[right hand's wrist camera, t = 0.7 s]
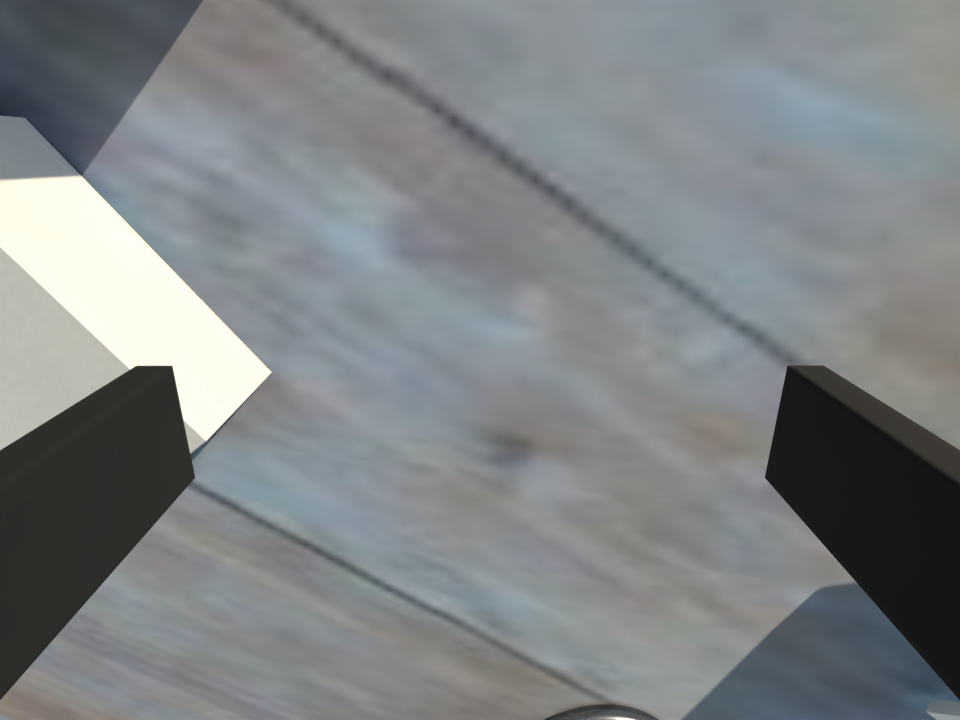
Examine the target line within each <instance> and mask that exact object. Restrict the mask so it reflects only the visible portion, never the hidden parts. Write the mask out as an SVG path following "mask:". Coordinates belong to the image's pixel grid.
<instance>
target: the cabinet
mask: <svg viewBox="0 0 960 720" xmlns="http://www.w3.org/2000/svg"><path fill="white" fill-rule="evenodd" d="M135 366H173V371H174V376H175V381H176V386H177V391H178V396H179V401H180V406H181V411H182V416H183V421H184V426H185V430H186V435H187V440H188V445H189V450H190V454H191V453H192V452H193V451H195V450H196V449H197V448H198V447H200V446H201V445H202V444H204V443H205V442H206V441H207V440H208V439H209V438H210V437H211V436H212V435H213V434H214V433H215V432H216V431H217V430H218V429H219V428H220V426H221V425H222V424H223V423H224V422H225V421H226V420H227V419H228V418H229V417H230V416H231V415H232V414H233V413H234V412H235V411H236V410H237V409H238V408H239V407H240V406H241V404H242V403H243V402H244V401H245V400H246V399H247V398H248V397H249V396H250V395H251V394H252V393H253V392H254V391H255V390H256V389H257V388H258V387H259V386H260V385H261V383H262V382H263V381H264V380H265V379H266V378H267V377H268V376H269V375H270V374H271V371H270V370H269V369H268V368H267V367H266V366H265V365H264V364H263V363H262V362H261V361H260V360H259V359H258V358H257V357H256V356H255V355H254V354H253V353H252V352H251V351H250V350H249V348H248V347H247V346H246V345H245V344H244V343H243V342H242V341H241V340H240V339H239V338H238V337H237V336H236V335H235V334H234V333H233V332H232V331H231V330H230V329H229V328H228V327H227V326H226V325H225V324H224V323H223V322H222V321H221V320H220V319H219V318H218V317H217V315H216V314H215V313H214V312H213V311H212V310H211V309H210V308H209V307H208V306H207V305H206V304H205V303H204V302H203V301H202V300H201V299H200V298H199V297H198V296H197V295H196V294H195V293H194V292H193V291H192V290H191V289H190V288H189V287H188V286H187V285H186V283H185V282H184V281H183V280H182V279H181V278H180V277H179V276H178V275H177V274H176V273H175V272H174V271H173V270H172V269H171V268H170V267H169V266H168V265H167V264H166V263H165V262H164V261H163V260H162V259H161V258H160V257H159V256H158V255H157V254H156V253H155V251H154V250H153V249H152V248H151V247H150V246H149V245H148V244H147V243H146V242H145V241H144V240H143V239H142V238H141V237H140V236H139V235H138V234H137V233H136V232H135V231H134V230H133V229H132V228H131V227H130V226H129V225H128V224H127V223H126V222H125V221H124V220H123V218H122V217H121V216H120V215H119V214H118V213H117V212H116V211H115V210H114V209H113V208H112V207H111V206H110V205H109V204H108V203H107V202H106V201H105V200H104V199H103V198H102V197H101V196H100V195H99V194H98V193H97V192H96V191H95V190H94V189H93V188H92V186H91V185H90V184H89V183H88V182H87V181H86V180H85V179H84V178H83V177H82V176H81V175H80V174H79V173H78V172H77V171H76V170H75V169H74V168H73V167H72V166H71V165H70V164H69V163H68V162H67V161H66V160H65V159H64V158H63V157H62V156H61V154H60V153H59V152H58V151H57V150H56V149H55V148H54V147H53V146H52V145H51V144H50V143H49V142H48V141H47V140H46V139H45V138H44V137H43V136H42V135H41V134H40V133H39V132H38V131H37V130H36V129H35V128H34V127H33V126H32V125H31V124H30V122H29V121H28V120H27V119H26V118H24V117H13V116H0V450H2V449H3V448H5V447H6V446H8V445H10V444H11V443H13V442H14V441H16V440H18V439H19V438H21V437H22V436H24V435H26V434H27V433H29V432H31V431H32V430H34V429H35V428H37V427H39V426H40V425H42V424H43V423H45V422H47V421H48V420H50V419H51V418H53V417H55V416H56V415H58V414H59V413H61V412H63V411H64V410H66V409H68V408H69V407H71V406H72V405H74V404H76V403H77V402H79V401H80V400H82V399H84V398H85V397H87V396H88V395H90V394H92V393H93V392H95V391H97V390H98V389H100V388H101V387H103V386H105V385H106V384H108V383H109V382H111V381H113V380H114V379H116V378H117V377H119V376H121V375H122V374H124V373H126V372H127V371H129V370H130V369H132V368H134V367H135Z"/></svg>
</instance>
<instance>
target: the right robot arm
mask: <svg viewBox="0 0 960 720" xmlns="http://www.w3.org/2000/svg"><path fill="white" fill-rule="evenodd" d="M194 478H195V475H194V470H193V465H192V460H191V455H190V450H189V445H188V440H187V435H186V430H185V426H184V421H183V416H182V411H181V406H180V401H179V396H178V391H177V386H176V381H175V376H174V371H173V366H135V367H134V368H132V369H130V370H129V371H127V372H126V373H124V374H122V375H121V376H119V377H117V378H116V379H114V380H113V381H111V382H109V383H108V384H106V385H105V386H103V387H101V388H100V389H98V390H97V391H95V392H93V393H92V394H90V395H88V396H87V397H85V398H84V399H82V400H80V401H79V402H77V403H76V404H74V405H72V406H71V407H69V408H68V409H66V410H64V411H63V412H61V413H59V414H58V415H56V416H55V417H53V418H51V419H50V420H48V421H47V422H45V423H43V424H42V425H40V426H39V427H37V428H35V429H34V430H32V431H31V432H29V433H27V434H26V435H24V436H22V437H21V438H19V439H18V440H16V441H14V442H13V443H11V444H10V445H8V446H6V447H5V448H3V449H2V450H0V700H1V698H2V697H3V696H4V695H5V694H6V693H7V692H8V690H9V689H10V688H11V687H12V686H13V685H14V684H15V682H16V681H17V680H18V679H19V678H20V677H21V676H22V674H23V673H24V672H25V671H26V670H27V669H28V668H29V666H30V665H31V664H32V663H33V662H34V661H35V660H36V659H37V657H38V656H39V655H40V654H41V653H42V652H43V651H44V649H45V648H46V647H47V646H48V645H49V644H50V643H51V641H52V640H53V639H54V638H55V637H56V636H57V635H58V633H59V632H60V631H61V630H62V629H63V628H64V627H65V625H66V624H67V623H68V622H69V621H70V620H71V619H72V617H73V616H74V615H75V614H76V613H77V612H78V611H79V609H80V608H81V607H82V606H83V605H84V604H85V603H86V601H87V600H88V599H89V598H90V597H91V596H92V595H93V593H94V592H95V591H96V590H97V589H98V588H99V587H100V585H101V584H102V583H103V582H104V581H105V580H106V579H107V577H108V576H109V575H110V574H111V573H112V572H113V571H114V570H115V568H116V567H117V566H118V565H119V564H120V563H121V562H122V560H123V559H124V558H125V557H126V556H127V555H128V554H129V552H130V551H131V550H132V549H133V548H134V547H135V546H136V544H137V543H138V542H139V541H140V540H141V539H142V538H143V536H144V535H145V534H146V533H147V532H148V531H149V530H150V528H151V527H152V526H153V525H154V524H155V523H156V522H157V520H158V519H159V518H160V517H161V516H162V515H163V514H164V512H165V511H166V510H167V509H168V508H169V507H170V506H171V504H172V503H173V502H174V501H175V500H176V499H177V498H178V496H179V495H180V494H181V493H182V492H183V491H184V490H185V488H186V487H187V486H188V485H189V484H190V483H191V482H192V480H193V479H194ZM765 478H766V479H767V481H768V482H769V483H770V484H771V485H772V486H773V487H774V488H775V490H776V491H777V492H778V493H779V494H780V495H781V496H782V498H783V499H784V500H785V501H786V502H787V503H788V504H789V506H790V507H791V508H792V509H793V510H794V511H795V512H796V514H797V515H798V516H799V517H800V518H801V519H802V520H803V522H804V523H805V524H806V525H807V526H808V527H809V528H810V530H811V531H812V532H813V533H814V534H815V535H816V536H817V538H818V539H819V540H820V541H821V542H822V543H823V544H824V546H825V547H826V548H827V549H828V550H829V551H830V552H831V554H832V555H833V556H834V557H835V558H836V559H837V560H838V562H839V563H840V564H841V565H842V566H843V567H844V568H845V570H846V571H847V572H848V573H849V574H850V575H851V576H852V577H853V579H854V580H855V581H856V582H857V583H858V584H859V585H860V587H861V588H862V589H863V590H864V591H865V592H866V593H867V595H868V596H869V597H870V598H871V599H872V600H873V601H874V603H875V604H876V605H877V606H878V607H879V608H880V609H881V611H882V612H883V613H884V614H885V615H886V616H887V617H888V619H889V620H890V621H891V622H892V623H893V624H894V625H895V627H896V628H897V629H898V630H899V631H900V632H901V633H902V635H903V636H904V637H905V638H906V639H907V640H908V641H909V643H910V644H911V645H912V646H913V647H914V648H915V649H916V651H917V652H918V653H919V654H920V655H921V656H922V657H923V659H924V660H925V661H926V662H927V663H928V664H929V665H930V666H931V668H932V669H933V670H934V671H935V672H936V673H937V674H938V676H939V677H940V678H941V679H942V680H943V681H944V682H945V684H946V685H947V686H948V687H949V688H950V689H951V690H952V692H953V693H954V694H955V695H956V696H957V697H958V698H959V700H960V450H958V449H957V448H955V447H954V446H952V445H950V444H949V443H947V442H946V441H944V440H942V439H941V438H939V437H938V436H936V435H934V434H933V433H931V432H929V431H928V430H926V429H925V428H923V427H921V426H920V425H918V424H917V423H915V422H913V421H912V420H910V419H909V418H907V417H905V416H904V415H902V414H901V413H899V412H897V411H896V410H894V409H892V408H891V407H889V406H888V405H886V404H884V403H883V402H881V401H880V400H878V399H876V398H875V397H873V396H872V395H870V394H868V393H867V392H865V391H863V390H862V389H860V388H859V387H857V386H855V385H854V384H852V383H851V382H849V381H847V380H846V379H844V378H843V377H841V376H839V375H838V374H836V373H834V372H833V371H831V370H830V369H828V368H826V367H825V366H787V371H786V376H785V381H784V386H783V391H782V396H781V401H780V406H779V411H778V416H777V421H776V426H775V430H774V435H773V440H772V445H771V450H770V455H769V460H768V465H767V470H766V475H765ZM549 720H658V719H656V718H655V717H653V716H651V715H649V714H647V713H645V712H642V711H640V710H637V709H633V708H630V707H625V706H618V705H591V706H584V707H579V708H575V709H571V710H568V711H565V712H563V713H560V714H558V715H556V716H554V717H552V718H550V719H549Z"/></svg>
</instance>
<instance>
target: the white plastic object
mask: <svg viewBox="0 0 960 720" xmlns="http://www.w3.org/2000/svg"><path fill="white" fill-rule="evenodd" d="M926 713H928V714H929V715H931V716H932V717H933V718H935V719H936V720H960V702H955V701H945V700H936V699H930V702H929V705H928V707H927V710H926Z"/></svg>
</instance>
